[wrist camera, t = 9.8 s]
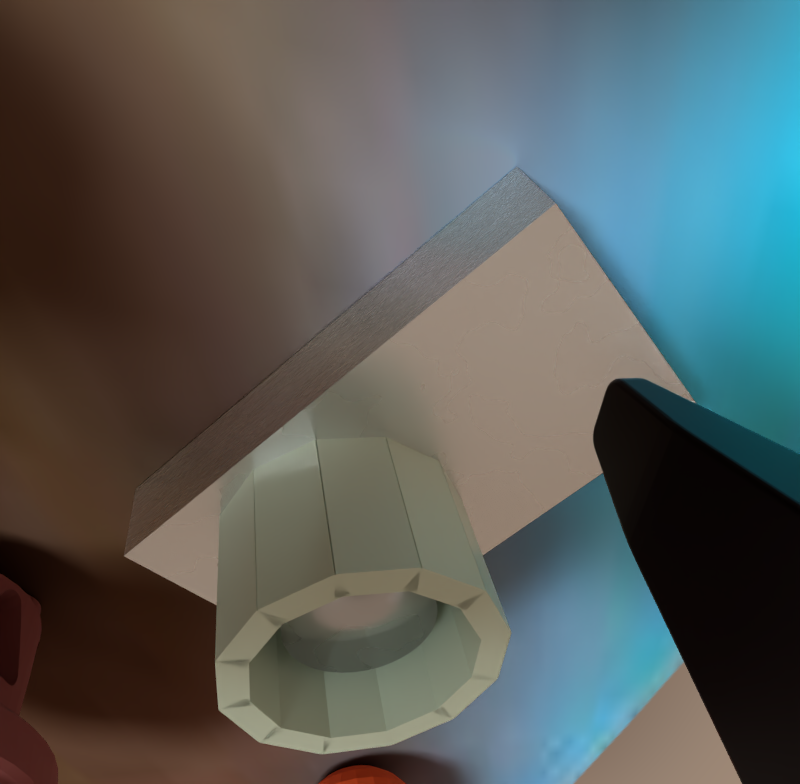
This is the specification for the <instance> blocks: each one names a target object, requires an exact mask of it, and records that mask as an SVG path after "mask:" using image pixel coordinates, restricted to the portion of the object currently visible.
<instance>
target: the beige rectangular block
mask: <svg viewBox="0 0 800 784" xmlns="http://www.w3.org/2000/svg"><path fill="white" fill-rule="evenodd" d="M618 378H643V379H646V380H648V381H651V382H653V383H655V384H657V385H659V386H661V387H663V388H665V389H667V390H669V391H671V392H673V393H675V394H677V395H679V396H681V397H683V398H685V399H687V400H689V401H691V402H693V403H696V402H695V401H694V400H693V398H692V397H691V395H690V394H689V392H688V391H687V390H686V388H685V387H684V385H683V384H682V382H681V381H680V380H679V378H678V377H677V375H676V374H675V373H674V371H673V370H672V368H671V367H670V365H669V364H668V363H667V361H666V360H665V358H664V357H663V355H662V354H661V353H660V351H659V350H658V348H657V347H656V345H655V344H654V343H653V341H652V340H651V338H650V337H649V335H648V334H647V333H646V331H645V330H644V328H643V327H642V326H641V324H640V323H639V321H638V320H637V318H636V317H635V316H634V314H633V313H632V311H631V310H630V308H629V307H628V306H627V304H626V303H625V301H624V300H623V298H622V297H621V296H620V294H619V293H618V291H617V290H616V288H615V287H614V286H613V284H612V283H611V281H610V280H609V279H608V277H607V276H606V274H605V273H604V271H603V270H602V269H601V267H600V266H599V264H598V263H597V261H596V260H595V259H594V257H593V256H592V254H591V253H590V251H589V250H588V249H587V247H586V246H585V244H584V243H583V241H582V240H581V239H580V237H579V236H578V234H577V233H576V232H575V230H574V229H573V227H572V226H571V224H570V223H569V222H568V220H567V219H566V217H565V216H564V214H563V213H562V212H561V210H560V209H559V207H558V206H557V204H556V203H555V202H554V201H553V200H552V199H551V198H550V197H548V196H547V195H546V194H545V193H544V192H543V191H542V190H541V189H540V188H539V187H538V186H537V185H536V184H535V183H534V182H533V181H532V180H531V179H529V178H528V177H527V176H526V175H525V174H524V173H523V172H522V171H521V170H520V169H519V168H518V167H516V168H515V169H513V170H512V171H511V172H510V173H509V174H507V175H506V176H505V177H504V178H503V179H502V180H500V181H499V182H498V183H497V184H496V185H494V186H493V187H492V188H491V189H490V190H489V191H487V192H486V193H485V194H484V195H483V196H481V197H480V198H479V199H478V200H477V201H476V202H474V203H473V204H472V205H471V206H470V207H468V208H467V209H466V210H465V211H464V212H463V213H461V214H460V215H459V216H458V217H457V218H455V219H454V220H453V221H452V222H451V223H450V224H448V225H447V226H446V227H445V228H444V229H442V230H441V231H440V232H439V233H438V234H437V235H435V236H434V237H433V238H432V239H431V240H429V241H428V242H427V243H426V244H425V245H424V246H422V247H421V248H420V249H419V250H418V251H416V252H415V253H414V254H413V255H412V256H411V257H409V258H408V259H407V260H406V261H405V262H403V263H402V264H401V265H400V266H399V267H398V268H396V269H395V270H394V271H393V272H392V273H390V274H389V275H388V276H387V277H386V278H385V279H383V280H382V281H381V282H380V283H379V284H377V285H376V286H375V287H374V288H373V289H372V290H370V291H369V292H368V293H367V294H366V295H364V296H363V297H362V298H361V299H360V300H359V301H357V302H356V303H355V304H354V305H353V306H351V307H350V308H349V309H348V310H347V311H346V312H344V313H343V314H342V315H341V316H340V317H338V318H337V319H336V320H335V321H334V322H333V323H331V324H330V325H329V326H328V327H327V328H325V329H324V330H323V331H322V332H321V333H320V334H318V335H317V336H316V337H315V338H314V339H312V340H311V341H310V342H309V343H308V344H307V345H305V346H304V347H303V348H302V349H301V350H299V351H298V352H297V353H296V354H295V355H294V356H292V357H291V358H290V359H289V360H288V361H286V362H285V363H284V364H283V365H282V366H281V367H279V368H278V369H277V370H276V371H275V372H273V373H272V374H271V375H270V376H269V377H268V378H266V379H265V380H264V381H263V382H262V383H260V384H259V385H258V386H257V387H256V388H255V389H253V390H252V391H251V392H250V393H249V394H247V395H246V396H245V397H244V398H243V399H242V400H240V401H239V402H238V403H237V404H236V405H234V406H233V407H232V408H231V409H230V410H229V411H227V412H226V413H225V414H224V415H223V416H221V417H220V418H219V419H218V420H217V421H216V422H214V423H213V424H212V425H211V426H210V427H209V428H207V429H206V430H205V431H204V432H203V433H201V434H200V435H199V436H198V437H197V438H196V439H194V440H193V441H192V442H191V443H190V444H188V445H187V446H186V447H185V448H184V449H183V450H181V451H180V452H179V453H178V454H177V455H175V456H174V457H173V458H172V459H171V460H170V461H168V462H167V463H166V464H165V465H164V466H162V467H161V468H160V469H159V470H158V471H157V472H155V473H154V474H153V475H152V476H151V477H149V478H148V479H147V480H146V481H145V482H144V483H142V484H141V485H140V486H139V487H138V488H136V490H135V495H134V501H133V507H132V512H131V518H130V524H129V529H128V535H127V541H126V546H125V552H124V556H125V557H126V558H128V559H130V560H132V561H134V562H136V563H138V564H140V565H142V566H143V567H145V568H147V569H149V570H151V571H153V572H155V573H157V574H158V575H160V576H162V577H164V578H166V579H168V580H170V581H172V582H174V583H175V584H177V585H179V586H181V587H183V588H185V589H187V590H189V591H190V592H192V593H194V594H196V595H198V596H200V597H202V598H204V599H206V600H207V601H209V602H211V603H213V604H215V605H217V580H218V549H219V517H220V515H221V513H222V512H223V510H224V509H225V508H226V506H227V505H228V504H229V502H230V501H231V499H232V498H233V497H234V495H235V494H236V493H237V491H238V490H239V488H240V487H241V486H242V484H243V483H244V481H245V480H246V479H247V477H248V476H249V475H250V473H251V472H252V470H254V469H255V468H257V467H259V466H261V465H263V464H265V463H267V462H270V461H272V460H274V459H276V458H278V457H280V456H282V455H284V454H286V453H288V452H290V451H292V450H295V449H297V448H299V447H301V446H303V445H305V444H307V443H309V442H311V441H313V440H316V439H337V438H365V437H385V438H386V437H387V438H390V439H392V440H394V441H396V442H398V443H401V444H403V445H405V446H407V447H409V448H412V449H414V450H416V451H418V452H420V453H423V454H425V455H427V456H429V457H431V458H434V459H436V460H438V461H439V462H440V463H441V465H442V466H443V468H444V470H445V472H446V473H447V475H448V477H449V479H450V480H451V482H452V484H453V486H454V487H455V489H456V491H457V493H458V494H459V496H460V498H461V500H462V502H463V504H464V507H465V509H466V512H467V515H468V517H469V520H470V523H471V525H472V528H473V531H474V533H475V536H476V539H477V541H478V544H479V547H480V550H481V552H482V555H484V554H486V553H487V552H488V551H490V550H491V549H493V548H494V547H496V546H497V545H499V544H500V543H501V542H503V541H504V540H506V539H507V538H509V537H510V536H512V535H513V534H515V533H516V532H517V531H519V530H520V529H522V528H523V527H525V526H526V525H528V524H529V523H531V522H532V521H533V520H535V519H536V518H538V517H539V516H541V515H542V514H544V513H545V512H547V511H548V510H549V509H551V508H552V507H554V506H555V505H557V504H558V503H560V502H561V501H563V500H564V499H565V498H567V497H568V496H570V495H571V494H573V493H574V492H576V491H577V490H579V489H580V488H581V487H583V486H584V485H586V484H587V483H589V482H590V481H592V480H593V479H595V478H596V477H597V476H599V475H600V474H602V473H603V472H602V469H601V466H600V463H599V460H598V457H597V454H596V452H595V448H594V444H593V431H594V426H595V423H596V420H597V417H598V414H599V410H600V407H601V404H602V401H603V398H604V395H605V391H606V389H607V386H608V385H609V383H610V382H611V381H613V380H614V379H618ZM437 612H438V609H437V603H436V600H434V599H431V598H428V597H425V596H422V595H419V594H416V593H413V592H410V591H406V592H394V593H382V594H370V595H358V596H346V597H341V598H339V599H337V600H334V601H332V602H330V603H328V604H326V605H323V606H321V607H319V608H317V609H315V610H312V611H310V612H308V613H306V614H304V615H301V616H299V617H297V618H295V619H293V620H290V621H288V622H286V623H284V624H282V625H281V638H282V641H283V644H284V646H285V648H286V650H287V651H288V652H289V653H290V655H291V656H293V657H294V658H295V659H296V660H297V661H299V662H301V663H302V664H304V665H307V666H309V667H311V668H315V669H318V670H322V671H327V672H338V673H348V672H359V671H366V670H370V669H374V668H378V667H381V666H384V665H387V664H389V663H392V662H394V661H396V660H398V659H400V658H402V657H404V656H405V655H407V654H409V653H410V652H412V651H413V650H414V649H416V648H417V647H418V646H419V645H420V644H421V643H422V642H423V641H424V640H425V639H426V638H427V637H428V635H429V634H430V632H431V631H432V629H433V627H434V625H435V622H436V619H437Z"/></svg>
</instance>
